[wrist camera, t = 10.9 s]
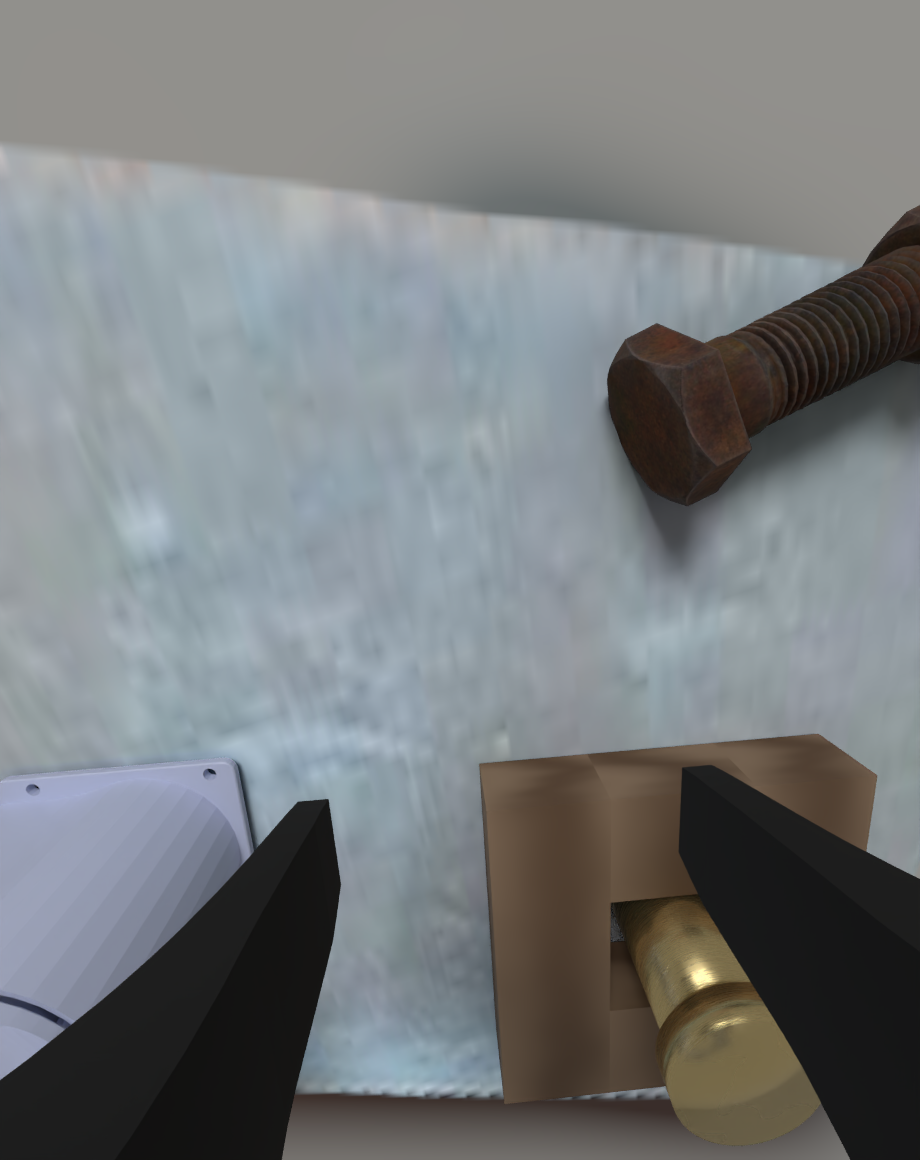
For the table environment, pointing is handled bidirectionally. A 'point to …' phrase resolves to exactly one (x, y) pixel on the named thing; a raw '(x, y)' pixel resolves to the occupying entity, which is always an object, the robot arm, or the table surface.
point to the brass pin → (712, 1027)
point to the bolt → (760, 369)
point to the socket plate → (613, 892)
